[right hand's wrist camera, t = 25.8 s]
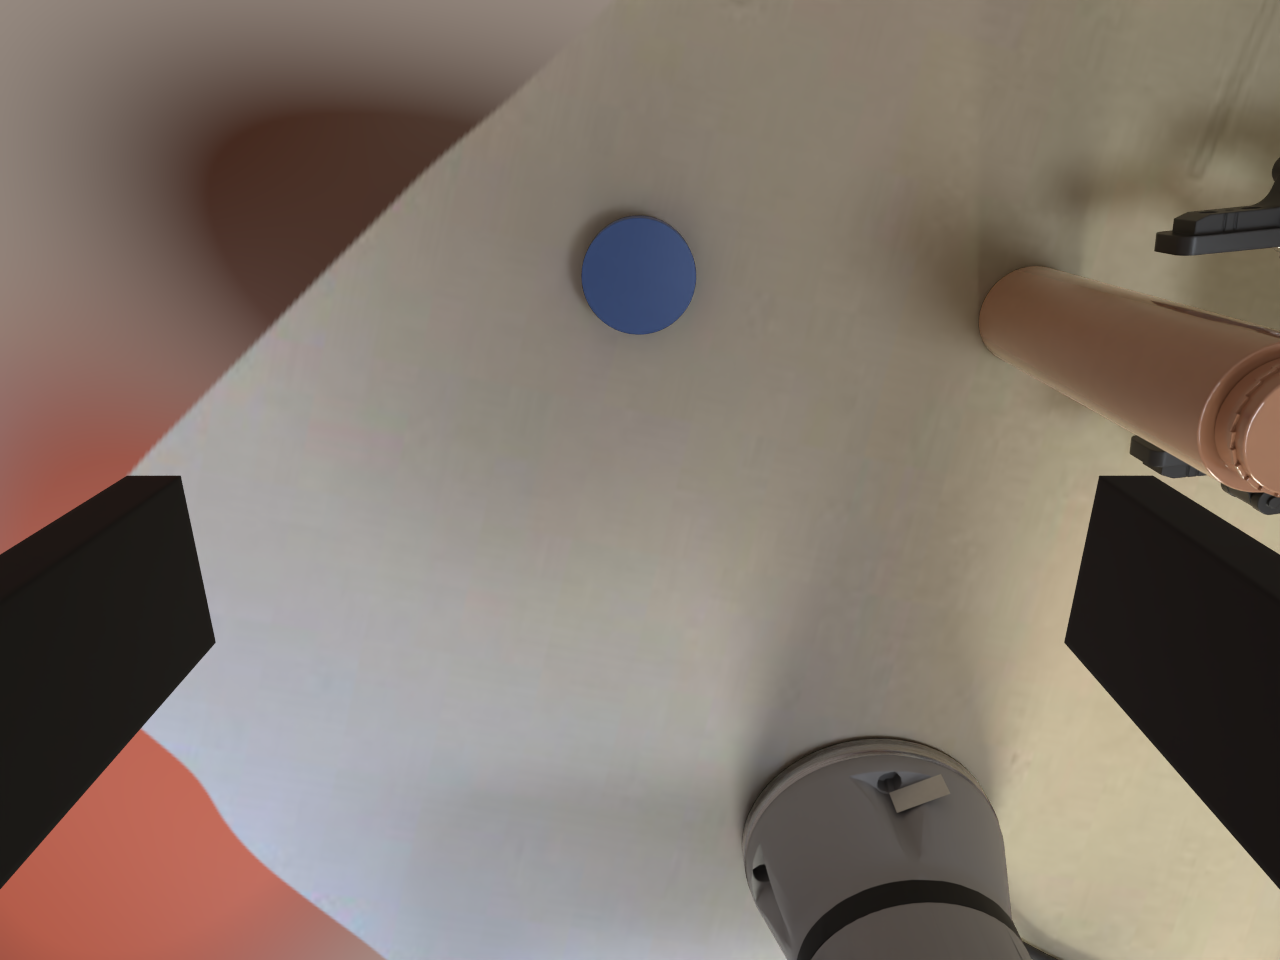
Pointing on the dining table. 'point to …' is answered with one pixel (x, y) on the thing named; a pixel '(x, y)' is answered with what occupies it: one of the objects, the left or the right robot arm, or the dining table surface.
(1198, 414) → the jar
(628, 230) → the lid
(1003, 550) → the dining table surface
